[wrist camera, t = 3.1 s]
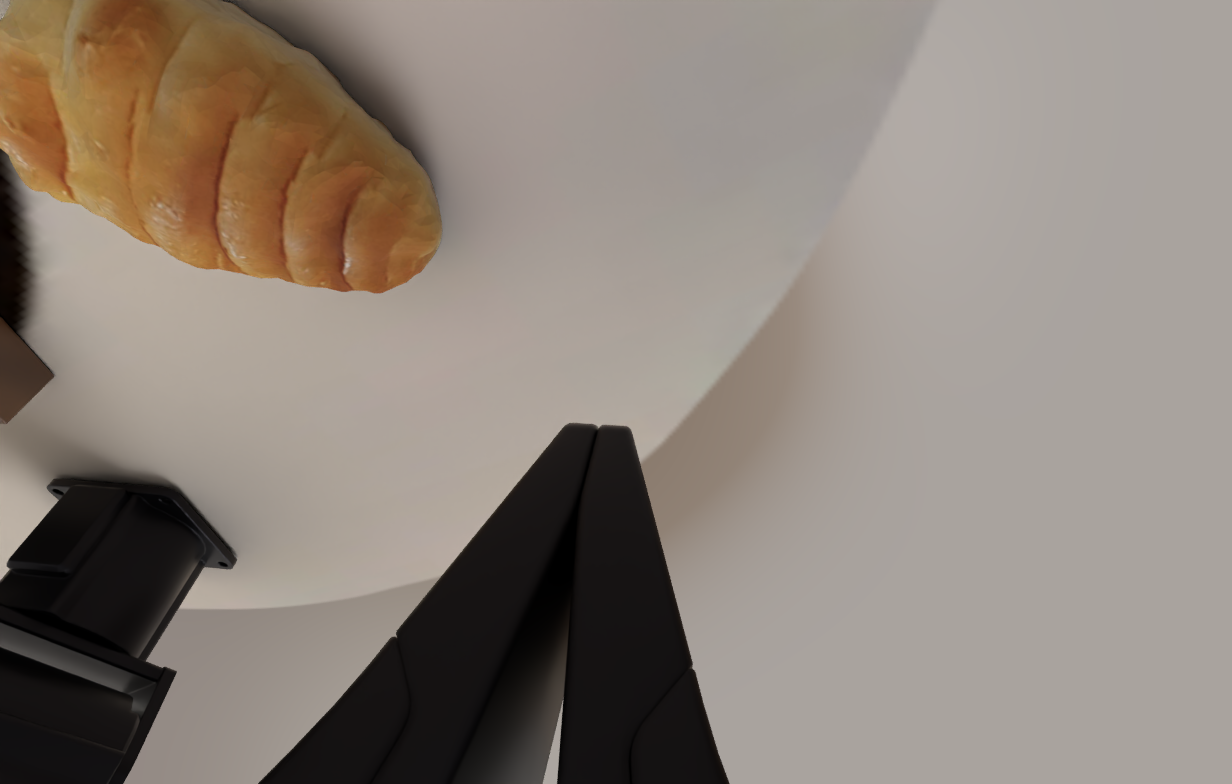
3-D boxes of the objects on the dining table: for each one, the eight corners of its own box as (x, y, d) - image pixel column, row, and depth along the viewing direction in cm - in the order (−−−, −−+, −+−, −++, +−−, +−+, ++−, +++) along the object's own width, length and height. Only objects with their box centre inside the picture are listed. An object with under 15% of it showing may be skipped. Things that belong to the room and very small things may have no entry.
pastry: (490, 118, 16) (439, 202, 14) (421, 304, 21) (373, 394, 18) (65, -109, 14) (-94, -60, 11) (94, 157, 19) (-14, 235, 16)
